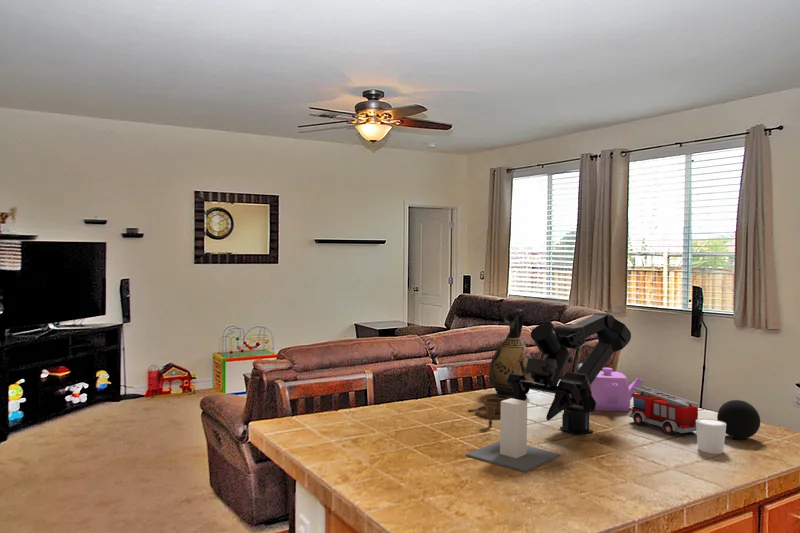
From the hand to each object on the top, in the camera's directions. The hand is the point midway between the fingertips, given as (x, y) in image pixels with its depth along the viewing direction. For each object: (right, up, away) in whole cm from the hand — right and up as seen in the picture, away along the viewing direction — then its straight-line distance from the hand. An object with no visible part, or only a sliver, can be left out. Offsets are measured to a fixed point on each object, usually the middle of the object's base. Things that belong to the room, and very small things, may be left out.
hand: (530, 415), depth 148 cm
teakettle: (+35, -9, +46) cm, 58 cm away
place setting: (-6, -9, +30) cm, 32 cm away
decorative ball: (+58, -9, +12) cm, 60 cm away
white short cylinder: (+45, -9, +1) cm, 46 cm away
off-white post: (-5, -8, -6) cm, 11 cm away
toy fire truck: (+42, -9, +20) cm, 47 cm away
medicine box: (+36, -8, +73) cm, 82 cm away
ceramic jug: (+7, -8, +60) cm, 61 cm away
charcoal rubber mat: (-5, -8, -6) cm, 11 cm away
